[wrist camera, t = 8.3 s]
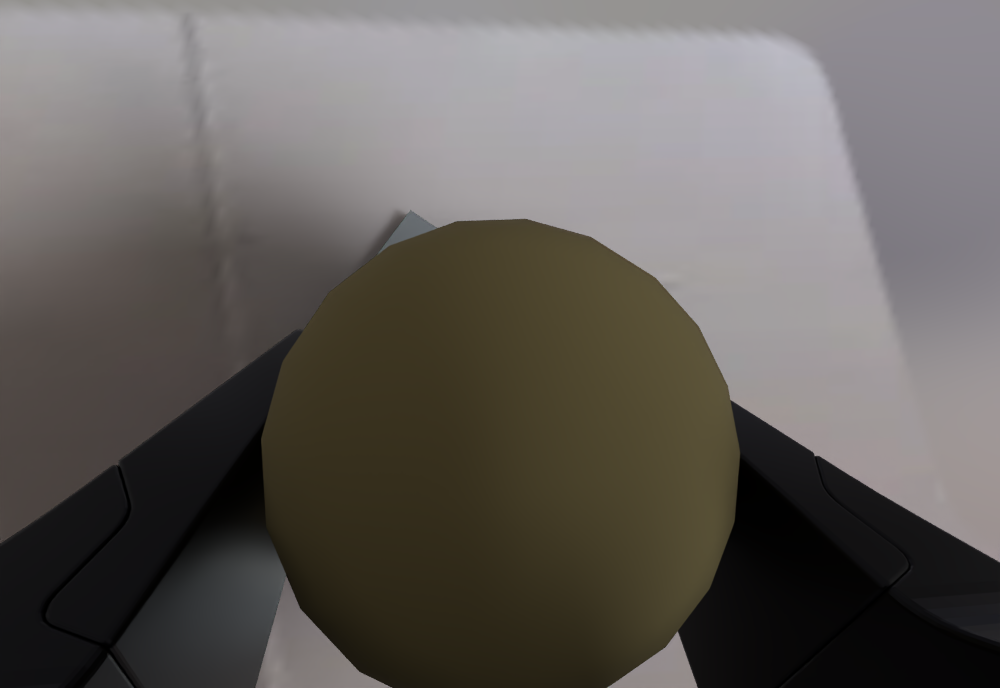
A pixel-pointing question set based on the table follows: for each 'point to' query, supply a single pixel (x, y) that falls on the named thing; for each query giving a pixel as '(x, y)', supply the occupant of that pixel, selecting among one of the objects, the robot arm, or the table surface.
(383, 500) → the olive pawn
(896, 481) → the table surface
